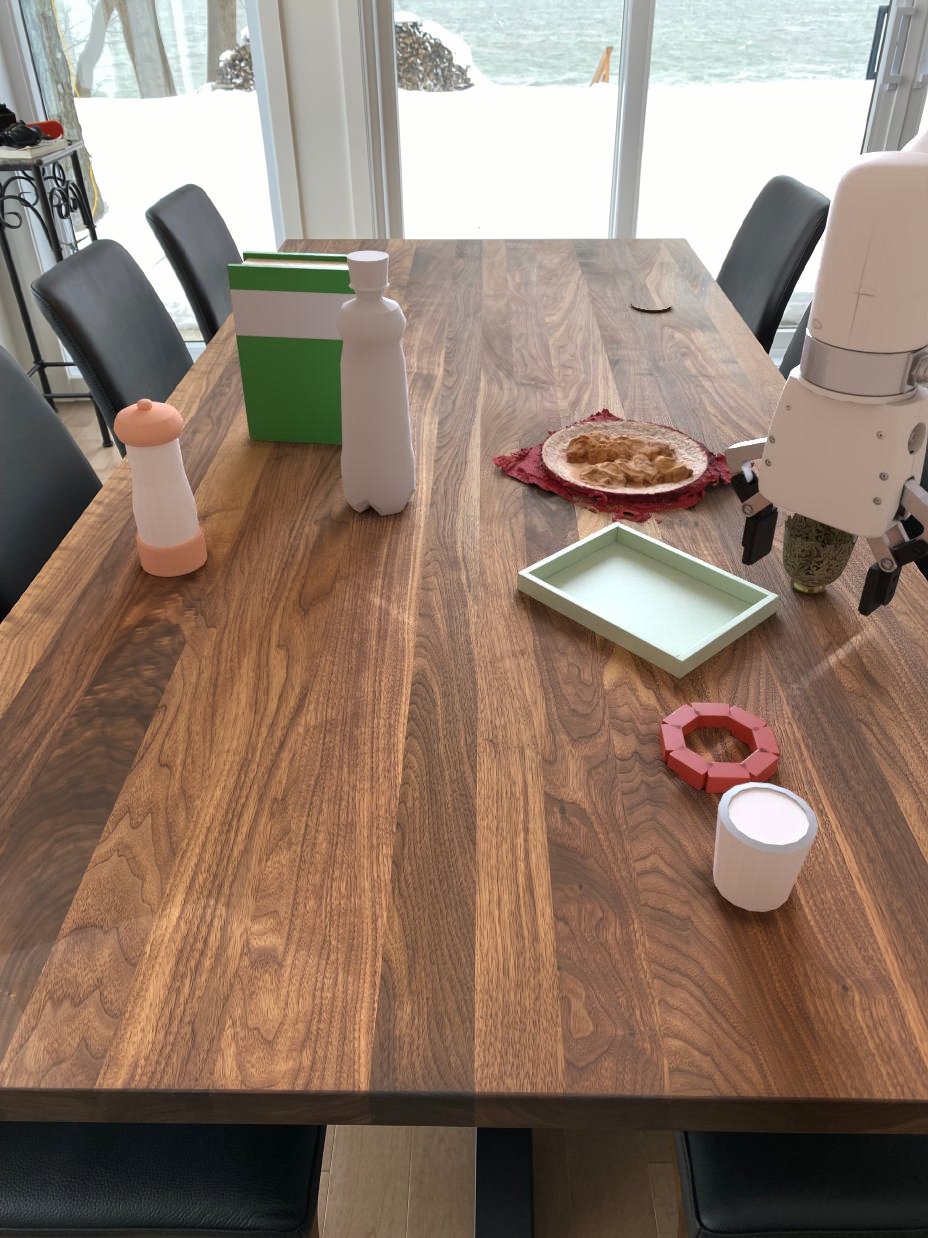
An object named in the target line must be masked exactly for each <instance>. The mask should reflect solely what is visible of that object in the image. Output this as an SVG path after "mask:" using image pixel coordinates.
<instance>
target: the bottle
mask: <svg viewBox="0 0 928 1238" xmlns="http://www.w3.org/2000/svg"><path fill="white" fill-rule="evenodd" d="M346 255H347V262H348V268H349V274H350V281H351V283H350V284H349V287H350V288H352V289H354V291H355V293H356V295H357V298H354V299H352V300H350V301H347V302H345V303H343V305H342V307H341V309H340V312H339V315H338V317H337V320H336V322H335V323H336V327H337V330H338V334H339V335H340V337H341V339H342V340H343V349H342V356H341V408H342V445H341V446H342V448H341V456H340V470H341V482H342V494H343V497H344V499H345V501H346V502H347V503H348V504H349V506H350V507H351V508H352V509H353V510H354V511H356V512H358V513H362V512H364V511H366V510H368V509H369V508H370V507H372V508H373V509H374V510H375V511H376V512H377V513H378V514H379V515H380V516H382V517H383V516H388V515H394V514H397V513H400V512H403V510H404V509H405V507H406V505H407V504H408V501H410V500H411V498H412V497H413V495H414V493H415V492H416V490H417V487H416V486H417V485H416V455H415V453H414V448H413V441H412V429H411V416H410V402H409V401H410V400H409V389H408V388H409V387H408V376H407V364H406V358H405V354H404V349H403V344H402V341H401V340H402V338H403V337H404V334H405V331H406V326H407V318H406V316H405V315H404V313H403V311H402V308H401V306H400V304H399V303H397V301H395V300H392V299H390V298H387V297H384V296H383V295H384V292H385V290H386V289H388V288H389V287H390V283H389V282H388V275H389V261H390V259H389V258H390V255H389V254H388V253H387V252H384V251H380V250H357V251H353V252H349V253H348V254H346Z"/></svg>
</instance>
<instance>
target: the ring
mask: <svg viewBox="0 0 928 1238" xmlns="http://www.w3.org/2000/svg"><path fill="white" fill-rule="evenodd" d="M697 728H720V729H726V730H729V731H730V732H731V733H729V735H730V736H732V737H733V738H735V739H736V740H738V741H741V742H742V743H744V744H745V745H748V748H749V751H750V755H749V756H748V757H746V759H744V760H743V761H742V762H712V761H709V760H708V759H706V758H705V757H703V756H701V755H699V754H698V753H697V752H695V751H693V750H691V749H690V748H688V747H687V745H686V740H685V737H686V736H687V735H689V734H690V733H691V732H692V731H694V730H695V729H697ZM658 739H659V745H660V749H661V755H662V761H663V763H666V764H667V765H666V767H667V768H669V769H671V770H672V771H674V772H675V773H677V775H676V778H679V779H680V780H682V781H683V782H685V783H686V784H687V785H689V786H691V787H692V788H694V789H696V790H697V791H701V790H702V789H703V788H704V791H705V793H707V794H724V793H726V792H727V791H729V790H730V789H732V788H733V787H734V786H737V785H741V784H746V783H750V782H755V783H766V781H768V780H769V779H770V778H771V777H773V775H775V774H776V771H777V768H778V764H779V760H780V756H781V751H780V749H779V745H778V743H777V740H776V737H775V734H774V731H773V729H772V726H768V723H767V722H766V721H765V720H763V719H761V718H759V717H757V716H756V715H754V714H752V713H750V712H748V711H746V710H745V709H743V708H741V707H739V706H737V705H733V706H732V707H731V706H730V703H722V702H721V703H720V702H718V703H717V702H690V705H688V704H687V703H685V704H683V705H682V706H680V707H679V708H677V709H676V710H675V711H673V712H672V713H670V714H669V715H668V716H666V717H665V718H664V719H662V720H661V724H660V726H659V732H658Z"/></svg>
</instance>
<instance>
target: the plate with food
mask: <svg viewBox="0 0 928 1238" xmlns="http://www.w3.org/2000/svg"><path fill="white" fill-rule="evenodd" d="M547 434H548V436H546V438H545V439H544V440H543V441H542V442H541V443H539V444H538V445H536V446H532V447H530V448H529V447H527V446H526V447H524V448H523V447H521V448H520V450H517V451H516V452H512V451H510V452H509V453H510V456H509V455H504V454H503V455H500V456H497V457H495V456H494V457H493V458H492V459H491V461H492V463H493V464H494V465H495V466H496V468H501V470H502V471H505V472H504V474H506V475H509V476H510V477H513V478H515V479H518V480H519V481H521V482H523V483H526V484H527V485H531V484H535V485H537V487H540V488H541V489H543V490H545V491H547V492H551V491H552V493H553V492H554V494H556V495H558V497H561V498H563V499H565V500H567V501H570V502H571V503H572V504H576V503H584V504H585V505H588V506H591V507H590V510H591V511H592V512H598V513H600V512H601V513H607V514H614V516H613V517H611V520H612V521H613V522H614V523H615V522H618V523H619V520H620V521H621V520H625V521H626V520H627V521H628V522H631V523H638V524H639V523H645V522H647V524H648V525H650V524H651V523H650V522H648V521H649V520H650V519H651V518H652V515H651V514H650V513H656V514H661V513H663V512H664V511H666V512H668V511H667V510H674V509H675V511H677V509H680V508H681V509H682V510H687V509H689V508H691V507H693V506H695V505H696V504H698V503H699V502H701V500H702V499H703V498H704V497H705V495H706V491H705V490H704V488H706V487H707V485H709V486H711V487H712V486H713V487H716V486H718V485H719V479H720V480H721V482H722V483H723V485H724V486H727V484H731V478H732V476H731V474H730V473H729V469H728V466H727V462H726V459H725V454H722V453H721V452H718V453H717V454H714V452H713V451H710V449H708V447H707V446H706V444H704V443H703V442H700V441H698V440H696V439H694V438H692V437H691V436H690V435H688V434H686V433H685V432H682V431H681V430H679V429H675V428H673V427H671V426H670V425H669V426H668V425H665V424H658V423H654V422H651V421H650V422H649V421H637V420H634V419H623V418H622V417H618V416H616V415H614V414H613V413H612V412H610V410H609V409H608V408H602V410H601V412H600V411H597V412H596V413H595V414H594V413H592V414H590V415H589V416H588V417H587V418H586V419H583V420H579V422H577V421H575V422H574V423H573V424H572V425H571V424H569V425H566V426H565V428H561V429H557V430H551V431H550V430H547ZM751 466H752V467H751V469H752V468H754V466H755V462H751ZM572 497H574V498H578V499H581V498H583V499H586V498H587V499H591V501H590V500H588V501H587V500H585V501H579V500H573V498H572ZM594 500H596V501H597V502H596V503H595V502H594ZM585 509H586V510H587V509H588V507H585ZM624 513H630V514H633V516H632V517H631V518H630V517H626V516H625V514H624ZM653 518H655V519H654V521H655V522H656V524H658V523H660V522H661V520H659V519H658V518H656V516H654V517H653ZM621 524H624V522H623V521H622V522H621Z"/></svg>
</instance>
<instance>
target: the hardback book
mask: <svg viewBox="0 0 928 1238" xmlns="http://www.w3.org/2000/svg"><path fill="white" fill-rule="evenodd" d="M347 255H348V254H341V253H339V254H338V253H315V252H314V253H312V252H311V253H309V252H286V251H285V252H284V251H281V252H280V251H259V250H258V251H257V250H256V251H254V250H244V251H243V252H242V258H243V259H242V261H243V262H241V263H228V264H227V265H226V269H227V276H228V277H227V278H228V285H229V292H230V299H231V300H230V301H231V305H232V306H231V307H232V308H231V309H232V316H233V322H234V329H235V337H236V346H237V353H238V362H239V369H240V376H241V383H242V393H243V398H244V399H243V400H244V407H245V414H246V415H245V416H246V422H247V429H248V439H249V441H266V442H283V443H284V442H285V443H300V444H301V443H302V444H318V445H319V444H323V445H335V446H337V445H338V446H342V408H341V356H342V349H343V340H342V339H341V337H340V335H339V334H338V330H337V327H336V323H335V322H336V320H337V317H338V315H339V312H340V309H341V307H342V305H343V303H345V302H347V301H350V300H352V299H354V298H357V295H356V293H355V291H354V289H352V288H350V287H349V284H350V283H351V281H350V274H349V268H348V262H347Z"/></svg>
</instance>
